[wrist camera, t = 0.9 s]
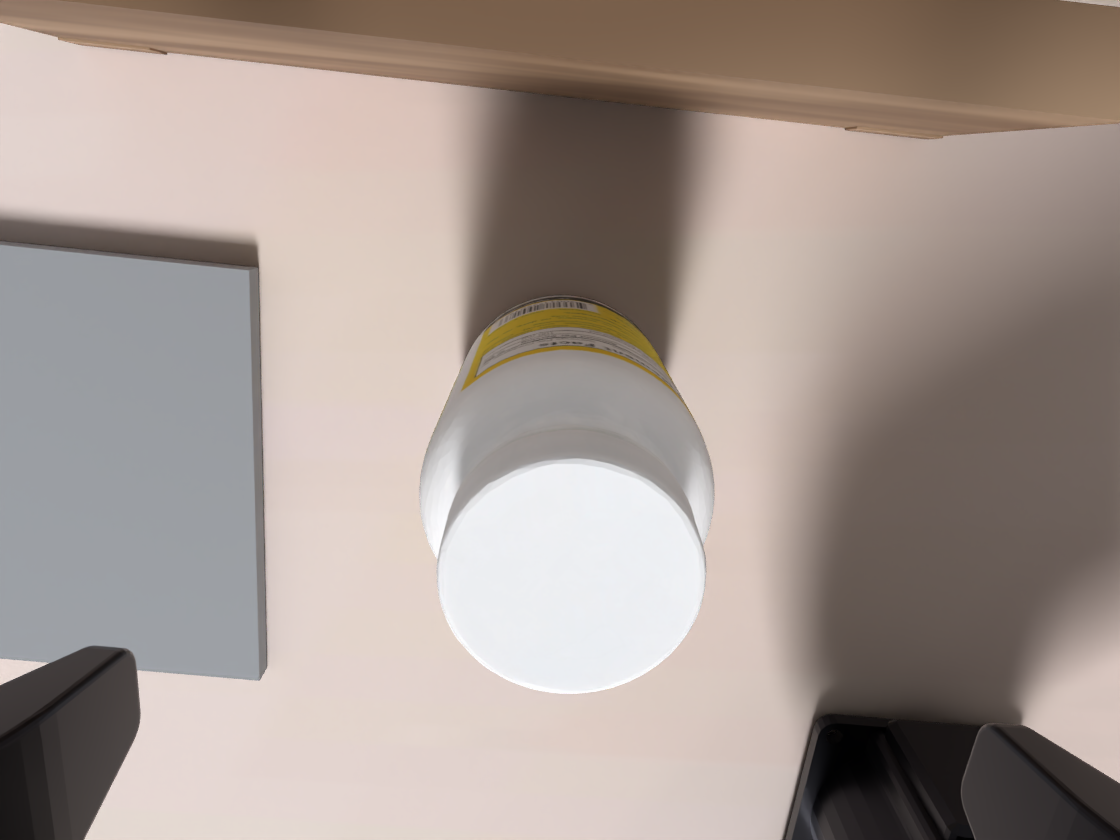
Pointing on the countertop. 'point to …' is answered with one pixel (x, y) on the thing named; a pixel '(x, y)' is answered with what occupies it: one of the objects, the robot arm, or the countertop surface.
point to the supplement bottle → (567, 500)
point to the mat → (131, 460)
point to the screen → (669, 52)
